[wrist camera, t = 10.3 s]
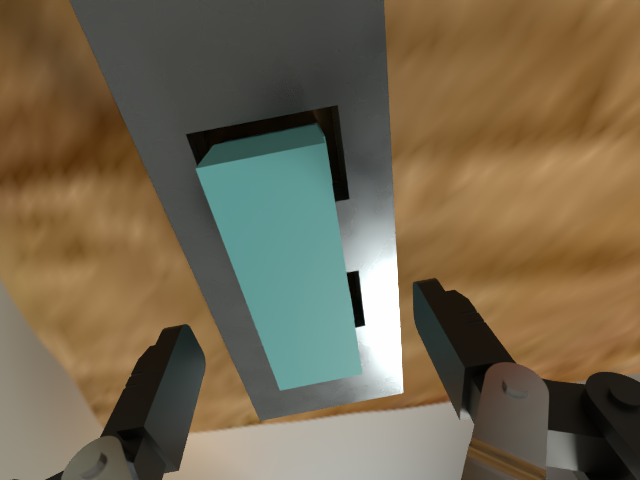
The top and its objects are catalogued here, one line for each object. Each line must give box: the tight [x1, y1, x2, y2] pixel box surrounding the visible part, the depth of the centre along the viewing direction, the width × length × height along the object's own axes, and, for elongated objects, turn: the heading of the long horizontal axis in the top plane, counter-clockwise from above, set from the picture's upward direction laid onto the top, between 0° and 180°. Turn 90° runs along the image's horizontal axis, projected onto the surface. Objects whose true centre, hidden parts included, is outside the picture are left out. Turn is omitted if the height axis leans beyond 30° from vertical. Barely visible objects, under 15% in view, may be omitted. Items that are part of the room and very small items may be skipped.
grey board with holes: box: [70, 0, 403, 421], centre depth 17 cm, size 10×26×2 cm, turn 9°
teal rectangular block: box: [196, 122, 363, 391], centre depth 15 cm, size 4×11×6 cm, turn 10°
